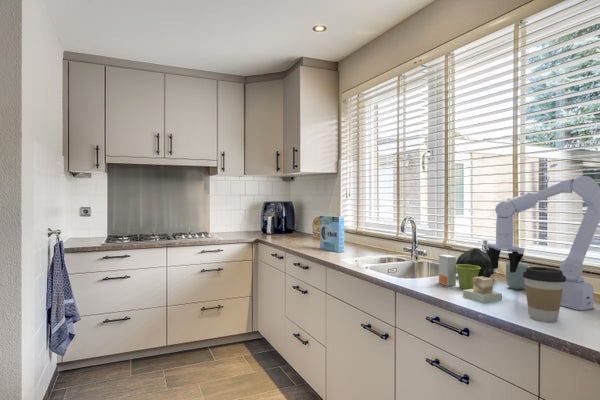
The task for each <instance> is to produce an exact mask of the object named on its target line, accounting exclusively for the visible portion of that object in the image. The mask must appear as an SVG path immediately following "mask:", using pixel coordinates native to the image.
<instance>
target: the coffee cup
mask: <svg viewBox="0 0 600 400" xmlns="http://www.w3.org/2000/svg"><path fill="white" fill-rule="evenodd" d="M523 277H524V279H525V288H524V289H525V294H526V302H527V310H528V315H529V318H530V319H531V320H534V321H536V322H541V323H549V324H550V323H551V324H552V323H557V321H558V318H559V316H560V315H559V313H560V309H561V305H560V303H561V298H562V292H563V286H564V282H565V281H566V277H565V276H564V275H563V273H562V271H561V270H559V269H558V268H557V269H556V268H554V267H553V268H552V267H545V266H528V268H526V271H525V272H523Z"/></svg>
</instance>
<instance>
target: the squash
mask: <svg viewBox="0 0 600 400" xmlns="http://www.w3.org/2000/svg"><path fill="white" fill-rule="evenodd" d="M459 264H466V265H474V266H479V267H481V269H480V270H479V273H478V277H481V276H483V277H487V278H491V276H492V274H493V272H494V271H493V270H494V269H493V268H492V264H491V261H490V258H489V256H488V254H487V253H486V252H484V251H483V250H481V249H480V248H477V247H475V248H474V247H473V248H471V249H468V250H467V251H465V252H463V253H461V254H460V255H459V256H458V257H457V258H456V265H459Z"/></svg>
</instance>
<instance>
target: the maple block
mask: <svg viewBox="0 0 600 400" xmlns="http://www.w3.org/2000/svg"><path fill="white" fill-rule="evenodd" d="M493 284H494V279H493V278H491V277H489V278H487V277H483V276H481V277H473V291H475V292H478V293H482V294H487V293H493V291H494V289H493V288H494V285H493Z"/></svg>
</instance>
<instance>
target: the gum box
mask: <svg viewBox="0 0 600 400" xmlns="http://www.w3.org/2000/svg"><path fill="white" fill-rule="evenodd" d="M319 220H320V222H319V230H320V231H319V233H320V234H319V237H320V238H319V240H320V241H319V244H320V245H319V246H320V247H319V250H324V251H330V252H335V253H345V216H337V215H319Z"/></svg>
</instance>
